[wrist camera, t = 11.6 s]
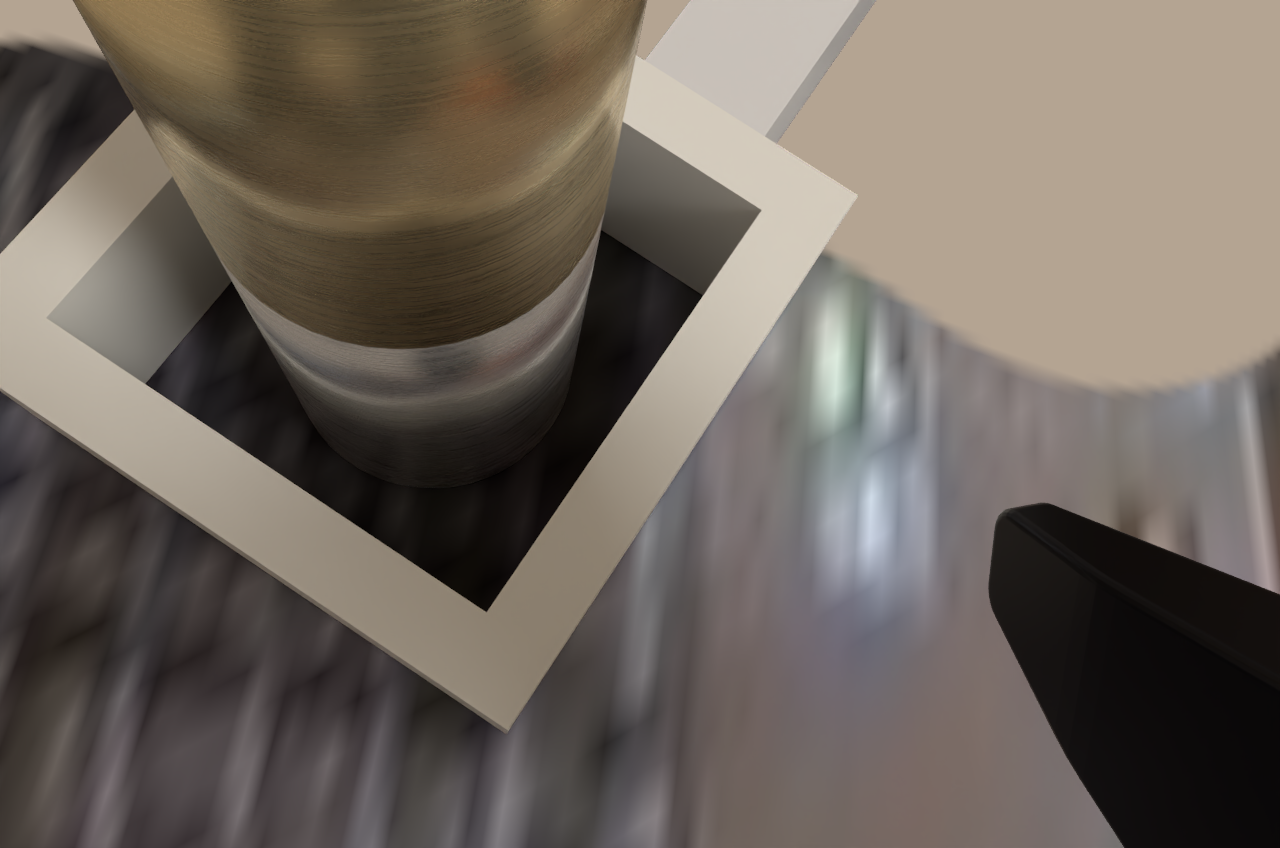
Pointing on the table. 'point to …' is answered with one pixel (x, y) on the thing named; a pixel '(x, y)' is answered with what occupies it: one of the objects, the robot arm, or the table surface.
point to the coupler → (395, 199)
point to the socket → (626, 460)
